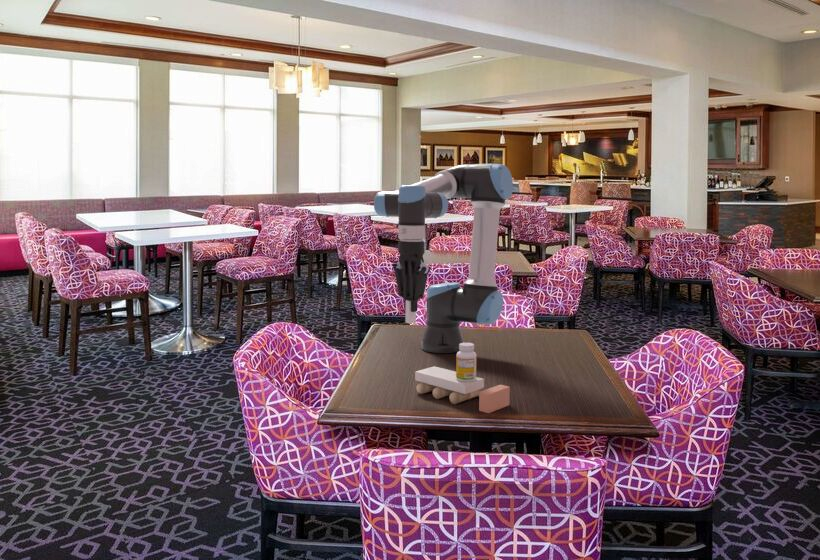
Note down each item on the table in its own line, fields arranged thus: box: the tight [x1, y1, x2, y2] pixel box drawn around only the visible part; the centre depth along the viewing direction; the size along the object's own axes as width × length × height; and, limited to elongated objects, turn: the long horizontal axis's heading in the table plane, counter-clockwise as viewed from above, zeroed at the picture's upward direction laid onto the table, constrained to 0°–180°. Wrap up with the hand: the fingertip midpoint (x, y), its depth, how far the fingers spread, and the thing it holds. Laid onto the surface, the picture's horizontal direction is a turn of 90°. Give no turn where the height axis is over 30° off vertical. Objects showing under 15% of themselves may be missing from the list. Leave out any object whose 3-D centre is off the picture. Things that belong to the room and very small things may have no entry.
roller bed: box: [416, 382, 482, 405], centre depth 188 cm, size 15×10×3 cm, turn 46°
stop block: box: [478, 384, 511, 414], centre depth 177 cm, size 3×9×5 cm, turn 137°
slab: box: [414, 366, 485, 394], centre depth 187 cm, size 18×8×2 cm, turn 46°
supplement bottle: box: [455, 342, 478, 382], centre depth 183 cm, size 5×5×10 cm
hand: (410, 322), depth 195 cm, fingers closed
